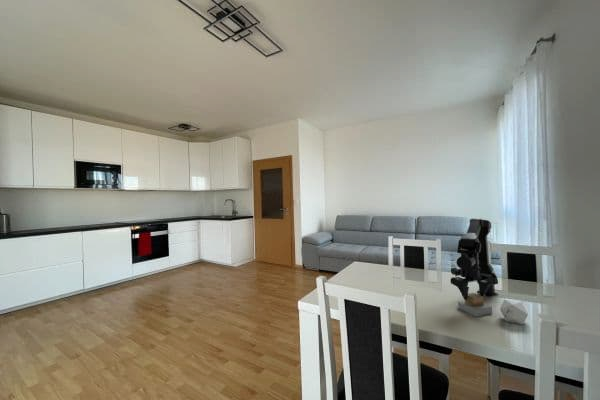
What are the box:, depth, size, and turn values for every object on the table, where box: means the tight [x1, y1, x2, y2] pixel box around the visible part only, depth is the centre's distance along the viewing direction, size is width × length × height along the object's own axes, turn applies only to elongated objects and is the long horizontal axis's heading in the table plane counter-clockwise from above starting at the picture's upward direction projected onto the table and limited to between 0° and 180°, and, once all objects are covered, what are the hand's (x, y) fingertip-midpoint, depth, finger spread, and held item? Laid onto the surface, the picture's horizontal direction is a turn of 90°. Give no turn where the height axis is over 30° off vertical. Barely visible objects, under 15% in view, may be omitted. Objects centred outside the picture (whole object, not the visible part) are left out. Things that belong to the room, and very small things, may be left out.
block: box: [465, 292, 485, 307], centre depth 107 cm, size 5×5×4 cm
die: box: [499, 299, 529, 325], centre depth 96 cm, size 8×9×10 cm
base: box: [457, 299, 493, 317], centre depth 107 cm, size 9×9×3 cm
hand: (473, 298), depth 107 cm, fingers open, 9 cm apart
